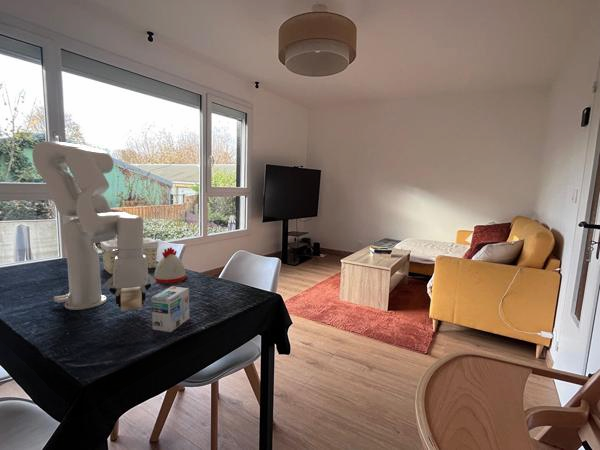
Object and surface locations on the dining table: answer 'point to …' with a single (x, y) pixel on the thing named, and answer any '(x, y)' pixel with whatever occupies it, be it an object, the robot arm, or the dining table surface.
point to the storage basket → (108, 257)
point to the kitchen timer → (169, 268)
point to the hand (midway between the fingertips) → (130, 303)
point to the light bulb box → (170, 308)
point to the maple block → (131, 298)
